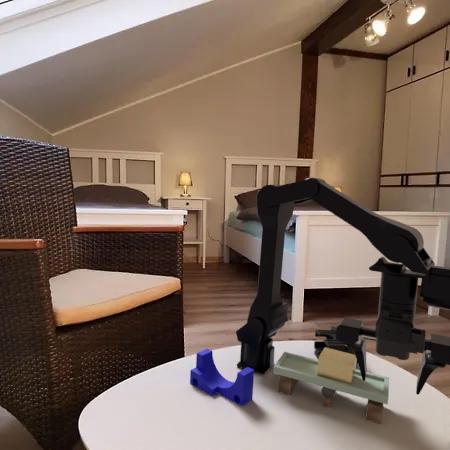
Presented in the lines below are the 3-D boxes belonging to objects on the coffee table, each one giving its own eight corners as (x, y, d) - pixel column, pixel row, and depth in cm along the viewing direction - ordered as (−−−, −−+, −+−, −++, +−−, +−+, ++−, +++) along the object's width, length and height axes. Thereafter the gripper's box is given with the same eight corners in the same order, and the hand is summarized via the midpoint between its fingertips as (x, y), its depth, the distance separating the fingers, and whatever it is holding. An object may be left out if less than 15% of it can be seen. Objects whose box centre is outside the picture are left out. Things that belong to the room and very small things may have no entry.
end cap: (358, 373, 80) (361, 343, 79) (327, 373, 79) (329, 343, 78) (341, 352, 90) (343, 326, 89) (312, 352, 89) (315, 325, 88)
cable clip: (190, 384, 72) (191, 355, 72) (205, 376, 76) (207, 348, 75) (236, 411, 65) (238, 378, 64) (252, 400, 68) (254, 369, 67)
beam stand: (277, 393, 70) (278, 373, 70) (288, 377, 77) (289, 358, 76) (380, 425, 62) (382, 403, 62) (383, 404, 68) (385, 384, 68)
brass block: (317, 377, 68) (318, 356, 67) (323, 366, 72) (324, 347, 71) (350, 387, 65) (353, 365, 64) (355, 375, 69) (357, 355, 69)
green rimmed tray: (273, 376, 70) (273, 366, 70) (283, 360, 76) (284, 351, 76) (387, 408, 62) (388, 396, 61) (388, 387, 68) (389, 377, 68)
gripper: (332, 302, 60) (326, 393, 61) (468, 325, 51) (457, 430, 53) (344, 287, 70) (338, 365, 71) (459, 304, 61) (450, 393, 63)
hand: (390, 386), depth 64 cm, fingers open, 8 cm apart
